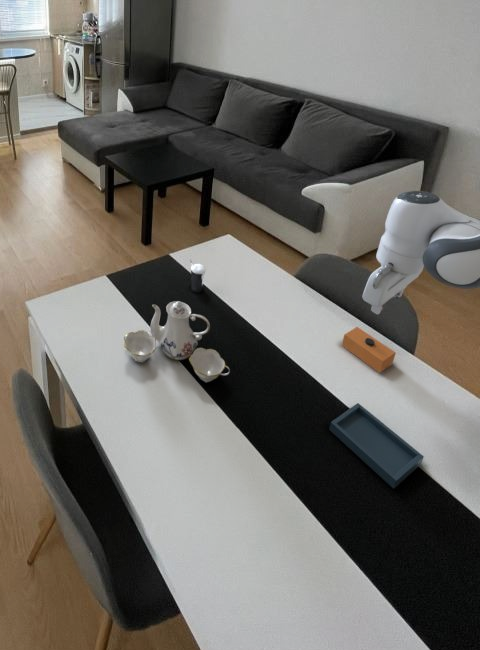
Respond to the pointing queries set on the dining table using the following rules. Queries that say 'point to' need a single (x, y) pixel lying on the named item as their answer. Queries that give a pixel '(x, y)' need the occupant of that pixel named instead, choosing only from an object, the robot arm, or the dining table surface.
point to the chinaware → (176, 341)
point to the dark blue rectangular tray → (376, 445)
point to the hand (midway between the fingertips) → (386, 303)
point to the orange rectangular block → (368, 349)
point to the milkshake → (197, 276)
